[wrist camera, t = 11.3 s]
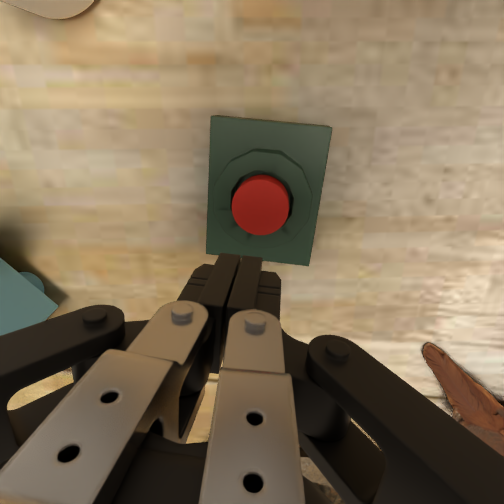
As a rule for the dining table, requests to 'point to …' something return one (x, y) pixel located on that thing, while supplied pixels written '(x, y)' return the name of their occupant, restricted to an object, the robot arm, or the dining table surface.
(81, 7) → the beverage can
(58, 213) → the dining table surface
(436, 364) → the bird sculpture
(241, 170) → the button box
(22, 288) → the teakettle
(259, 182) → the red button
